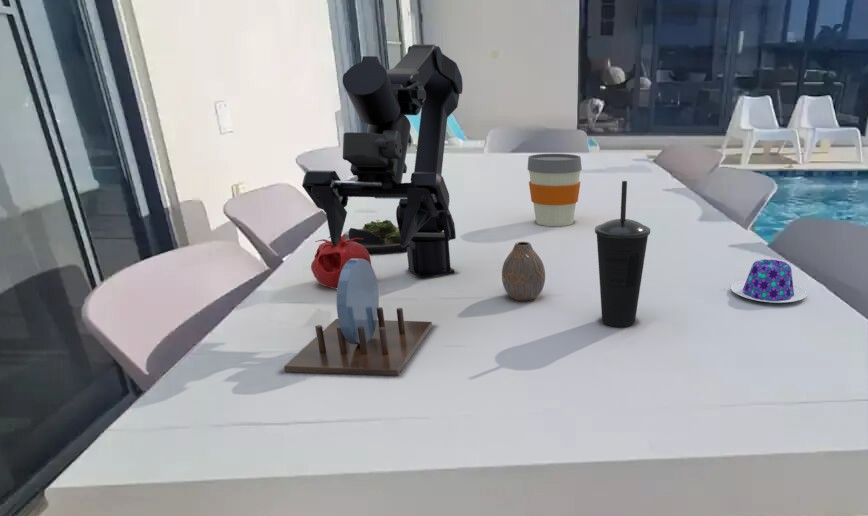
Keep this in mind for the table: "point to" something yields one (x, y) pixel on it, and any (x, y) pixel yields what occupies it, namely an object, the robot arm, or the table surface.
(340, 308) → the plate
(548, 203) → the reusable coffee cup
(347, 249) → the pomegranate
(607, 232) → the drinking cup
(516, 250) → the vase
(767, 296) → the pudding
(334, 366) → the rack
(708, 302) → the table surface
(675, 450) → the table surface
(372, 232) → the salad plate
